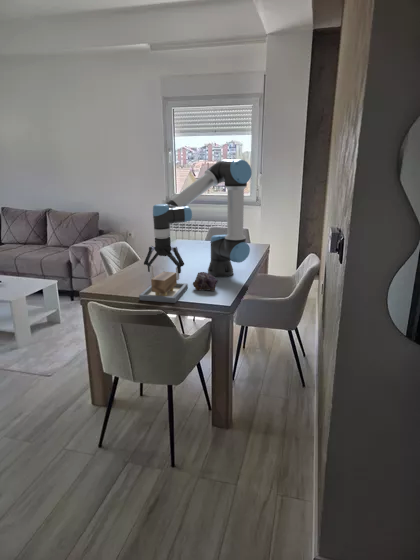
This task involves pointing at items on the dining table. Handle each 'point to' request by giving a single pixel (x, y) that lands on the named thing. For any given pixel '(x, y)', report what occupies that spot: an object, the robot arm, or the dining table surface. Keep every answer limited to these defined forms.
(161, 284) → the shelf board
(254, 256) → the dining table surface
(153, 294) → the grey shallow tray
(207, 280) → the rock
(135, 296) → the dining table surface
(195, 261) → the dining table surface
